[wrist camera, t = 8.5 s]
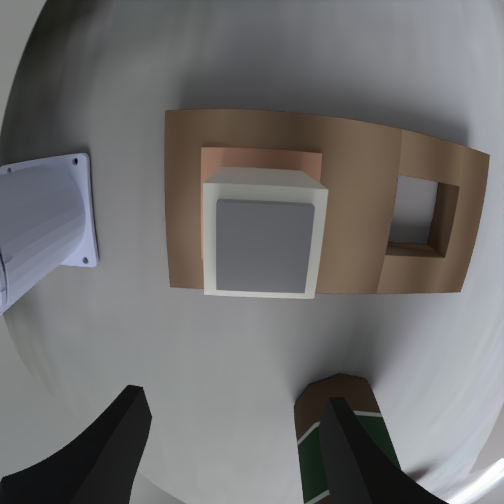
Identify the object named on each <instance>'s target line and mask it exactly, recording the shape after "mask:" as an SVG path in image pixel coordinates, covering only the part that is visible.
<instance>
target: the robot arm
mask: <svg viewBox="0 0 504 504" xmlns="http://www.w3.org/2000/svg"><path fill="white" fill-rule="evenodd" d="M76 158H77V159H78V163H77V164H76V163H75V159H76ZM10 169H11V171H10ZM85 257H86V258H87V259H88V262H87V261H86V260H85ZM98 263H99V257H98V250H97V243H96V236H95V228H94V219H93V208H92V197H91V182H90V160H89V156H88V154H86V153H77V154H69V155H62V156H55V157H48V158H42V159H35V160H30V161H24V162H19V163H14V164H9V165H4V166H1V167H0V315H1V314H2V313H4V312H5V311H6V310H7V309H8V308H9V307H10V306H11V305H12V304H13V303H15V302H16V301H17V300H18V299H19V298H20V297H21V296H22V295H23V294H25V293H26V292H27V291H28V290H29V289H30V288H31V287H33V286H34V285H35V284H36V283H37V282H39V281H40V280H41V279H42V278H43V277H44V276H46V275H47V274H48V273H49V272H51V271H52V270H53V269H54V268H55V267H57V266H58V265H71V266H83V267H95V266H96V265H97V264H98ZM151 420H152V415H151V412H150V409H149V406H148V403H147V400H146V396H145V393H144V390H143V387H139V386H134V385H128V386H126V388H125V389H124V390H123V391H122V392H121V393H120V394H119V395H118V397H117V398H116V399H115V400H114V401H113V402H112V403H111V404H110V405H109V407H108V408H107V409H106V410H105V411H104V412H103V413H102V414H101V415H100V416H99V417H98V418H97V419H96V420H95V421H94V422H93V423H92V424H91V425H90V426H89V427H88V428H86V429H85V430H84V431H83V432H82V433H81V434H80V435H79V436H78V437H76V438H75V439H74V440H73V441H71V442H70V443H69V444H68V445H66V446H65V447H63V448H62V449H61V450H59V451H58V452H56V453H54V454H53V455H51V456H50V457H49V458H47V459H45V460H43V461H41V462H39V463H37V464H35V465H33V466H31V467H29V468H27V469H24V470H22V471H19V472H16V473H14V474H11V475H8V476H5V477H3V478H2V480H1V482H0V504H129V500H130V495H131V489H132V485H133V481H134V478H135V475H136V472H137V469H138V466H139V463H140V460H141V457H142V454H143V451H144V448H145V445H146V442H147V439H148V435H149V430H150V425H151ZM318 428H319V441H320V450H321V455H322V460H323V465H324V470H325V474H326V479H327V484H328V489H329V495H330V503H331V504H449V503H447V502H445V501H443V500H441V499H439V498H438V497H436V496H435V495H433V494H431V493H430V492H428V491H427V490H425V489H424V488H423V487H421V486H420V485H419V484H417V483H416V482H415V481H413V480H412V479H411V478H410V477H409V476H407V475H406V474H405V473H404V472H403V471H402V470H401V469H400V468H399V467H398V466H397V465H395V464H394V462H393V461H392V460H391V459H390V458H389V457H388V456H387V455H386V454H385V453H384V452H383V450H382V449H381V448H380V447H379V446H378V444H377V443H376V442H375V441H374V439H373V438H372V437H371V435H370V434H369V433H368V431H367V430H366V429H365V427H364V426H363V425H362V423H361V422H360V420H359V419H358V417H357V416H356V414H355V413H354V411H353V410H352V408H351V407H350V405H349V404H348V402H347V400H346V399H345V398H344V397H333V398H328V401H327V404H326V407H325V410H324V413H323V415H322V418H321V421H320V424H319V426H318Z"/></svg>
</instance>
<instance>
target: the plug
mask: <svg viewBox="0 0 504 504" xmlns="http://www.w3.org/2000/svg"><path fill="white" fill-rule="evenodd" d="M327 198H328V189H327V188H325V187H324V186H323V185H321V184H320V183H318V182H317V181H316V180H314V179H313V178H311V177H310V176H308V175H307V174H305V173H304V172H303V171H297V170H283V169H266V168H244V167H220V168H219V169H218V170H217V171H216V172H215V173H214V174H212V175H211V176H210V177H209V178H208V179H207V180H206V181H205V182H204V183H203V269H204V295H220V296H241V297H266V298H301V299H314V296H315V289H316V283H317V276H318V270H319V263H320V256H321V248H322V241H323V233H324V225H325V216H326V208H327Z"/></svg>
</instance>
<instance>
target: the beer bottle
mask: <svg viewBox="0 0 504 504" xmlns="http://www.w3.org/2000/svg"><path fill="white" fill-rule="evenodd" d="M333 397H344V398H345V399H346V400H347V402H348V404H349V405H350V407H351V408H352V410H353V411H354V413H355V414H356V416H357V417H358V419H359V420H360V422H361V423H362V425H363V426H364V427H365V429H366V430H367V431H368V433H369V434H370V435H371V437H372V438H373V439H374V441H375V442H376V443H377V444H378V446H379V447H380V448H381V449H382V450H383V452H384V453H385V454H386V455H387V456H388V457H389V458H390V459H391V460H392V461H393V462H394V464H395V465H397V466H398V467H399V468H400V469H401V467H400V464H399V461H398V458H397V456H396V453H395V450H394V447H393V444H392V441H391V439H390V436H389V433H388V430H387V428H386V425H385V422H384V419H383V417H382V414H381V412H380V409H379V406H378V404H377V401H376V399H375V396H374V393H373V391H372V389H371V387H370V385H369V383H368V381H367V380H366V379H364V378H359V377H354V376H349V375H344V374H337V375H335V376H332V377H329V378H326V379H324V380H321V381H318V382H315V383H312V384H309V386H308V387H307V388H306V390H305V391H304V392H303V394H302V395H301V396H300V398H299V399H298V400H297V402H296V403H295V405H294V420H295V429H296V437H297V446H298V454H299V463H300V472H301V481H302V490H303V500H304V504H331V503H330V495H329V489H328V484H327V479H326V474H325V470H324V465H323V460H322V455H321V450H320V441H319V428H318V426H319V424H320V421H321V418H322V415H323V413H324V410H325V407H326V404H327V401H328V398H333Z"/></svg>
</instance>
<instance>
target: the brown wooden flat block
mask: <svg viewBox="0 0 504 504" xmlns="http://www.w3.org/2000/svg"><path fill="white" fill-rule="evenodd" d="M489 159H490V155H489V154H486V153H483V152H480V151H477V150H474V149H471V148H468V147H465V146H462V145H459V144H456V143H453V142H449V141H446V140H442V139H439V138H435V137H431V136H428V135H424V134H420V133H416V132H412V131H407V130H403V129H399V128H394V127H389V126H384V125H379V124H374V123H369V122H363V121H357V120H351V119H345V118H338V117H331V116H323V115H314V114H305V113H295V112H283V111H268V110H247V109H187V110H166V111H165V213H166V235H167V252H168V266H169V279H170V287H177V288H193V289H204V269H203V183H204V182H205V181H206V180H207V179H208V178H209V177H210V176H211V175H212V174H214V173H215V172H216V171H217V170H218V169H219V168H220V167H244V168H266V169H283V170H297V171H303V172H304V173H305V174H307V175H308V176H310V177H311V178H313V179H314V180H316V181H317V182H318V183H320V184H321V185H323V186H324V187H325V188H327V189H328V198H327V208H326V216H325V225H324V233H323V241H322V248H321V256H320V263H319V270H318V276H317V283H316V289H315V293H325V294H411V293H452V292H461V289H462V286H463V283H464V280H465V276H466V273H467V270H468V267H469V263H470V260H471V256H472V252H473V248H474V245H475V241H476V236H477V232H478V228H479V223H480V218H481V213H482V208H483V203H484V197H485V191H486V184H487V176H488V168H489ZM398 175H403V176H409V177H414V178H420V179H425V180H431V181H436V182H439V184H438V191H437V197H436V203H435V209H434V215H433V220H432V225H431V230H430V235H429V239H428V244H427V245H425V244H410V243H395V242H388V239H389V233H390V228H391V222H392V216H393V210H394V203H395V197H396V189H397V182H398Z"/></svg>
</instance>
